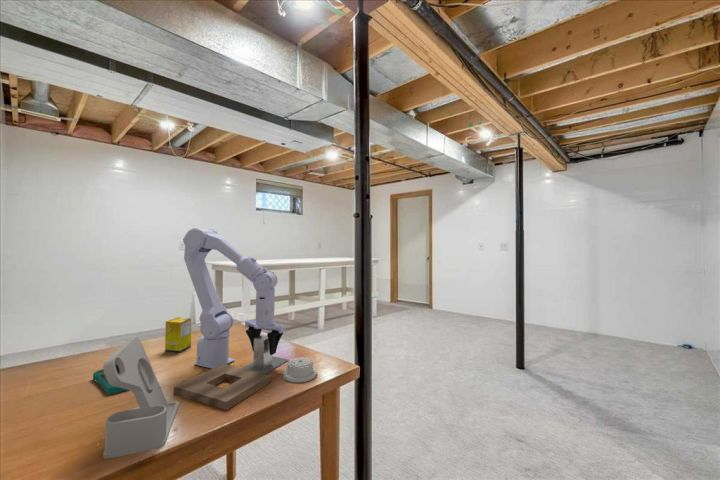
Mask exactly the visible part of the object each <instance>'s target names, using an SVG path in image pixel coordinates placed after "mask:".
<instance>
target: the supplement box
mask: <svg viewBox="0 0 720 480" xmlns="http://www.w3.org/2000/svg"><path fill="white" fill-rule="evenodd" d="M164 332H165V335H164V336H165V337H164V338H165V339H164V341H165V342H164V347H165V349H164V352H165V353H174V354H175V353H176V354H180V353H182V352H184V351H186V350H188V349H190V348H192V317H179V316H178V317H175V318H171V319H169V320H166V321H165V331H164Z"/></svg>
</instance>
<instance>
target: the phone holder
mask: <svg viewBox="0 0 720 480" xmlns="http://www.w3.org/2000/svg"><path fill="white" fill-rule="evenodd" d="M102 368H103V369H104V374H105V376H106V378H107V381H108V382H109V384H110V385H112V386H115V387H119V388H123V389H127V390H126V391H131V392H132V393H133V395H134V397H135V399H136V403H137V405H138V406H136V407H133V408H131V409H127V410H122V411H118V412H116V413H113V414H111V415H109V416H108V417H107V418H106V419H105V428H104V429H105V431H104V432H105V433H104V434H105V436H104V449H103V453H102V454H103V456H102V457H103V458H104V457H105V458H104V459H106V458H108V459H113V458H114V459H115V458H118V457H124V456H128V455H134V454H138V453H143V452H148V451H149V452H150V451H154V450H158V449H160V448H162V447H164V446H165V445H166V443H167V442H168V441H167V440H168V437H169V435H170V433H171V429H172V427H173V423H174V421H175V418H176V416H177V413H178V410H179V407H180V402H179V401H177V400H174V401H167V399H166V397H165V394H164V392H163V390H162V388H161V385H160V383H159V381H158V379H157V376H156V374H155V371H154V369H153V367H152V364H151V362H150V360H149V358H148V355H147V353H146V350H145V348H144V346H143V343H142V341H141V340H140V338H138V337H137V336H136V337H133V338H131V339H128V340H127V339H126V341H125V342H124V343H123V344H122V345H121V346H119V348H118V349H116V351H115V352H113V353H112V354H111V355H110V356H109V357H108V358H107V359H106V360H105V361H104V362H103V367H102ZM107 381H106V382H107ZM108 382H107V383H108Z"/></svg>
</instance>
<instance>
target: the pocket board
mask: <svg viewBox="0 0 720 480" xmlns="http://www.w3.org/2000/svg"><path fill="white" fill-rule="evenodd" d="M224 381H226V382H229V383H230V384H229V385H227V386H225V387H221V386H218V385H219V384H221V383H223V382H224ZM269 383H271V374H268V373H267V374H264V373H260V372H256V371H252V370H247V369H243V367H239V366H234V365H229V364H222V365H219V366H217V367H215V368H213V369H211V368H210V369H208V370H207V371H204V372H203V373H200V374H198V375H196V376H194V377H191V378H188V379H187V380H185V381H183V382H181V383H179V384H177V385H174V386H173V395H176V396H179V397H182V398H185V399H188V400H191V401H195V402H198V403H202V404H204V405H208V406H209V407H210V406H211V407H214V408H217V409H220V410H224V411H227V410H230V409H231V408H232V407H233V406H235V405H237V404H238V403H240V402H241V401H243V400H244V399H246V398H248V397H249V396H251V395H252V394H254V393H255V392H257V391H258V390H260V389H261V388H263V387H265V386H266V385H268V384H269Z"/></svg>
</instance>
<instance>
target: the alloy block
mask: <svg viewBox="0 0 720 480" xmlns="http://www.w3.org/2000/svg"><path fill="white" fill-rule="evenodd" d="M272 356H273V355H270V352H269V339H268V336H267V334H260V336H258V337H256V338H254V351H253V361H252V363H253V367H256V368H261V369H265V368H266V367H268V366H270V365H272Z"/></svg>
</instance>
